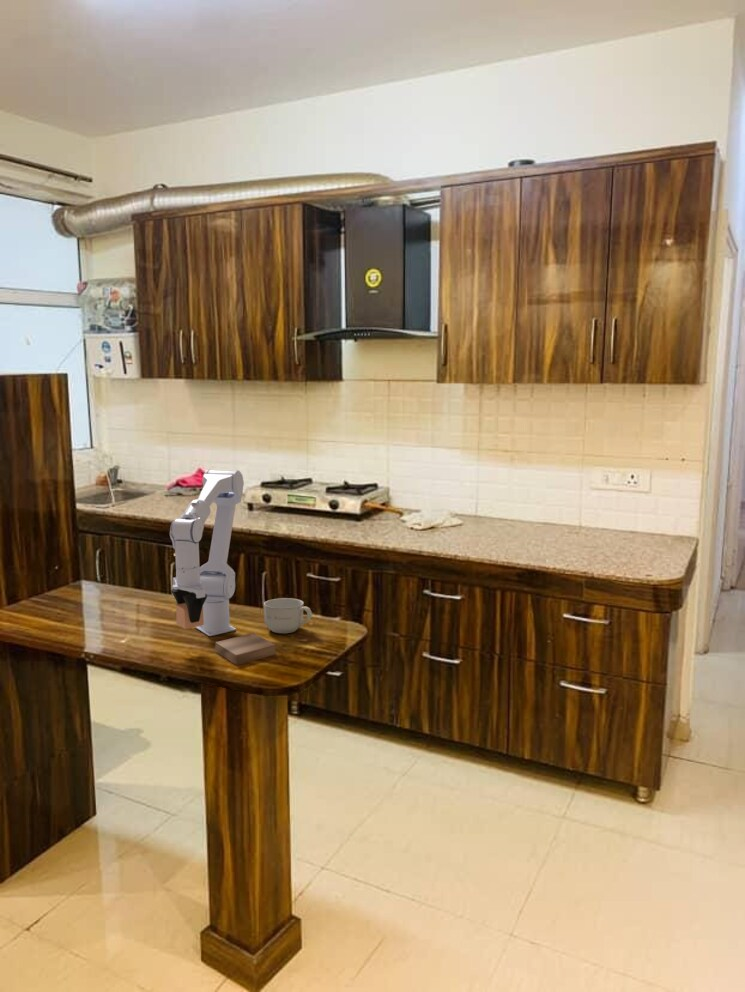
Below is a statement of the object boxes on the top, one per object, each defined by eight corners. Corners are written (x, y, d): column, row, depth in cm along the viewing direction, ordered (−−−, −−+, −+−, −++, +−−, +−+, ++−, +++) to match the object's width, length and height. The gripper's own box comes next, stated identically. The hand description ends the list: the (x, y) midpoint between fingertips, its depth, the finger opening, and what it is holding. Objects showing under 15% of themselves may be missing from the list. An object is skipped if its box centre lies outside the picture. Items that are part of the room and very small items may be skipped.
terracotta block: (176, 623, 191) (175, 604, 190) (195, 619, 194) (194, 601, 193) (185, 629, 187) (184, 609, 186) (203, 624, 190) (202, 605, 189)
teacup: (256, 631, 205) (255, 603, 204) (284, 620, 214) (283, 593, 213) (293, 642, 197) (292, 613, 196) (321, 631, 205) (320, 603, 204)
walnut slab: (215, 653, 191) (215, 642, 190) (253, 643, 197) (253, 632, 197) (236, 666, 182) (236, 655, 182) (275, 656, 189) (275, 644, 188)
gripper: (160, 563, 191) (163, 614, 193) (185, 575, 180) (187, 629, 182) (186, 558, 195) (189, 609, 197) (212, 570, 184) (214, 623, 186)
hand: (190, 618), depth 190 cm, fingers closed on terracotta block, 5 cm apart
